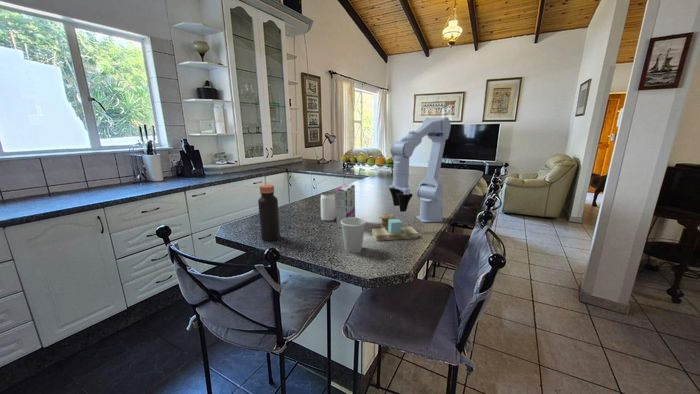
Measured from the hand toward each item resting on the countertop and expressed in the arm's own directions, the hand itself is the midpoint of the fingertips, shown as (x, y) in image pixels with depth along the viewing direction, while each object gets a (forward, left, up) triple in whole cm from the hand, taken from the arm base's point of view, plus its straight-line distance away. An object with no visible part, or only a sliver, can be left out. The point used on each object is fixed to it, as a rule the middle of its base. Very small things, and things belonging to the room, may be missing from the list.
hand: (399, 208), depth 106 cm
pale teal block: (+3, +3, -10) cm, 11 cm away
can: (+26, -20, -10) cm, 35 cm away
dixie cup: (+20, +13, -10) cm, 26 cm away
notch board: (+3, +4, -10) cm, 11 cm away
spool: (+3, -6, -10) cm, 12 cm away
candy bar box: (+19, -12, -10) cm, 25 cm away
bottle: (+49, -1, -10) cm, 50 cm away
